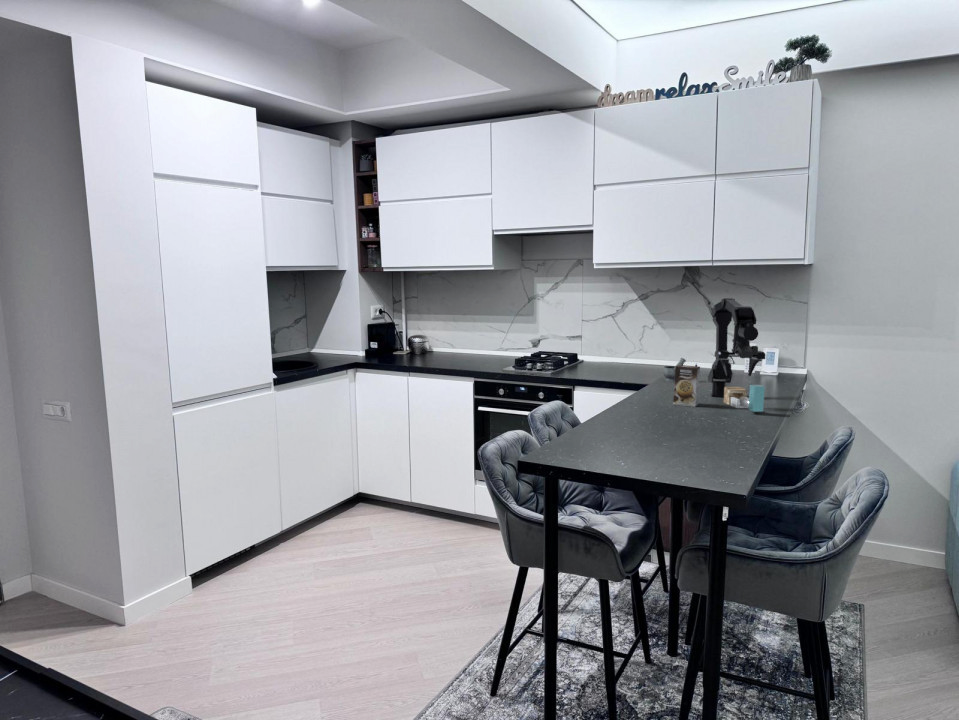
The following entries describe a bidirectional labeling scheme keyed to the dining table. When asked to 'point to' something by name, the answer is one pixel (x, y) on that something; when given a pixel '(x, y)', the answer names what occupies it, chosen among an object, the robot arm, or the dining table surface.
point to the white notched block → (737, 403)
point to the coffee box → (686, 385)
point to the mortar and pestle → (671, 371)
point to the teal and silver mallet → (754, 398)
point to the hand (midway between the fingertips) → (738, 375)
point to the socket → (733, 393)
